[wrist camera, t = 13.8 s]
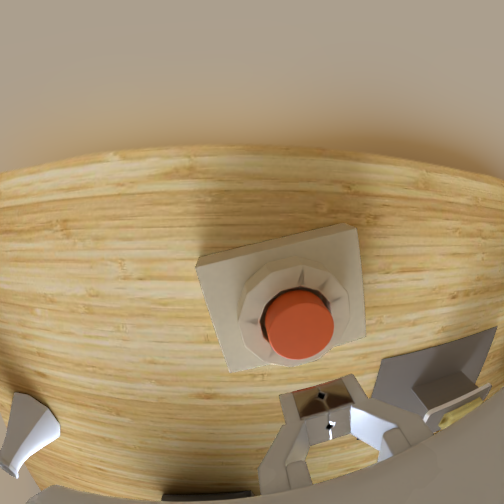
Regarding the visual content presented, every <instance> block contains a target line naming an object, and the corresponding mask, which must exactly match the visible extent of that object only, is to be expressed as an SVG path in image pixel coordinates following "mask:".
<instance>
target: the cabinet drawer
mask: <svg viewBox="0 0 504 504" xmlns="http://www.w3.org/2000/svg"><path fill="white" fill-rule="evenodd" d="M238 498H247V496H246V494H245V493H240V494H229V495H217V496H190V497H178V496H162V500H161V501H171V502H194V501H216V500H229V499H238Z"/></svg>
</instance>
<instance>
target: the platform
mask: <svg viewBox="0 0 504 504" xmlns="http://www.w3.org/2000/svg"><path fill="white" fill-rule="evenodd" d="M496 329H497V326H496V327H493V328H491V329H488V330H485V331H483V332H480V333H477V334H474V335H471V336H468V337H465V338H462V339H459V340H456V341H452V342H449V343H446V344H442V345H439V346H435V347H432V348H428V349H424V350H421V351H417V352H413V353H409V354H405V355H400V356H396V357H391V358H387V359H382V361H381V365H380V369H379V373H378V376H377V380H376V383H375V387H374V390H373V393H372V397H371V398H375V399H377V400H380V401H382V402H385V403H388V404H390V405H393V406H396V407H398V408H401V409H404V410H407V411H410V412H412V413H415V414H418V415H420V416H421V418H422V419H423V420H424V422H425V423H426V424H427V426H428V427H429V429H430V430H431V431H432V433H434V432H436V431H438V430H441V429H442V430H443V429H445V428H446V427H448V426H450V425H451V424H453V423H455V422H456V421H458V420H459V419H461V418H462V417H464V416H465V415H467V414H468V413H470V412H471V411H472V410H474V409H475V408H477V407H478V406H479V405H481V404H482V403H483V402H484V401H483V400H484V399H485V398H486V396H487V395H488V393H489V391H490V389H491V387H492V385H491V384H490V383H487V384H485V385H483V386H481V387H479V388H478V387H477V386H476V385H475V383H476V380H477V378H478V376H479V374H480V371H481V369H482V367H483V364H484V362H485V359H486V357H487V354H488V352H489V349H490V347H491V344H492V341H493V338H494V335H495V332H496ZM471 402H472V403H471ZM467 405H468V406H467ZM449 413H450V414H449ZM444 417H445V418H444ZM443 418H444V419H443ZM442 419H443V420H442ZM357 440H359V439H358V438H357Z"/></svg>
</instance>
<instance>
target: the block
mask: <svg viewBox="0 0 504 504" xmlns="http://www.w3.org/2000/svg"><path fill="white" fill-rule="evenodd" d="M195 269H196V272H197V276H198V279H199V282H200V286H201V289H202V292H203V295H204V298H205V302H206V305H207V308H208V311H209V314H210V317H211V320H212V323H213V326H214V329H215V332H216V335H217V338H218V341H219V344H220V347H221V350H222V353H223V355H224V358H225V361H226V364H227V367H228V369H229V372H230V373H232V372H237V371H242V370H247V369H252V368H256V367H261V366H265V365H270V364H275V365H281V366H287V367H294V366H298V365H302V364H305V363H309V362H313V361H316V360H318V359H320V358H321V357H322V356H323V355H325V354H326V353H327V352H328V351H330V350H331V349H332V348H333V347H336V346H339V345H342V344H346V343H349V342H352V341H355V340H358V339H361V338H364V337H366V320H365V302H364V289H363V277H362V266H361V257H360V248H359V240H358V233H357V228H355V227H353V226H350V225H348V224H346V223H341V224H336V225H332V226H328V227H324V228H319V229H315V230H311V231H306V232H302V233H298V234H294V235H290V236H285V237H281V238H277V239H273V240H268V241H264V242H260V243H256V244H252V245H248V246H243V247H239V248H235V249H231V250H227V251H223V252H219V253H214V254H210V255H206V256H202V257H199V259H198V261H197V264H196V266H195ZM294 290H304V291H309V292H311V293H313V294H315V295H316V296H318V297H319V298H320V299H321V301H322V302H323V303H324V305H325V306H326V308H327V309H328V310H329V312H330V313H331V315H332V317H333V320H334V332H333V336H332V338H331V340H330V342H329V343H328V345H327V346H326V347H325V348H324V349H323V350H322V351H321V352H319V353H318V354H316V355H314V356H312V357H309V358H306V359H301V360H292V359H287V358H284V357H282V356H280V355H279V354H277V353H276V352H275V351H274V350H273V348H272V347H271V345H270V342H269V339H268V335H267V330H266V326H265V316H266V312H267V310H268V308H269V306H270V305H271V304H272V302H273V301H274V300H275V299H276V298H278V297H279V296H281V295H282V294H284V293H286V292H289V291H294Z"/></svg>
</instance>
